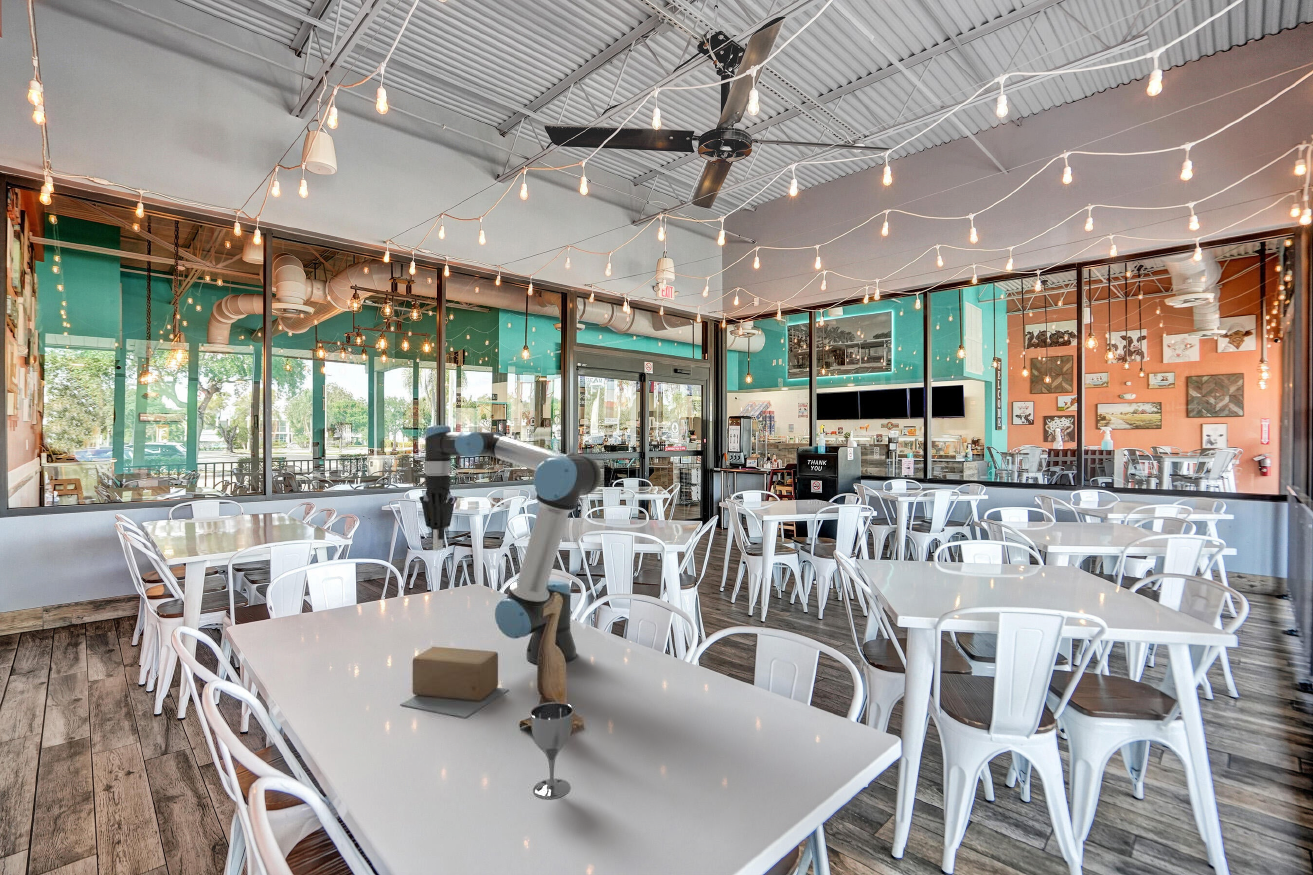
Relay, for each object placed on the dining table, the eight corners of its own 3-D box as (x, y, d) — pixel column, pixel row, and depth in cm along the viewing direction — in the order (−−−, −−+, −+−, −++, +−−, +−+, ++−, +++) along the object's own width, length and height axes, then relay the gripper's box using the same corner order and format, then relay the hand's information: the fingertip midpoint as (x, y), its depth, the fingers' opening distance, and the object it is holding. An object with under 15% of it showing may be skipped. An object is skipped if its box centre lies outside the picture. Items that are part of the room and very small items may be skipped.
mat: (508, 690, 168) (508, 689, 168) (465, 718, 151) (465, 716, 151) (448, 679, 175) (448, 678, 175) (400, 705, 158) (400, 704, 158)
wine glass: (533, 778, 124) (533, 702, 124) (573, 776, 125) (573, 701, 125) (528, 801, 116) (528, 720, 116) (571, 799, 117) (571, 718, 117)
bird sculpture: (516, 731, 145) (514, 593, 144) (555, 713, 154) (553, 583, 153) (548, 747, 138) (546, 602, 137) (586, 726, 147) (585, 591, 146)
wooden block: (410, 695, 163) (481, 702, 159) (410, 657, 163) (481, 663, 159) (432, 681, 173) (499, 687, 169) (432, 645, 173) (499, 650, 169)
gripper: (462, 474, 199) (462, 549, 199) (429, 473, 203) (429, 546, 203) (446, 475, 192) (446, 553, 192) (413, 474, 196) (412, 550, 196)
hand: (437, 549), depth 197 cm, fingers closed
